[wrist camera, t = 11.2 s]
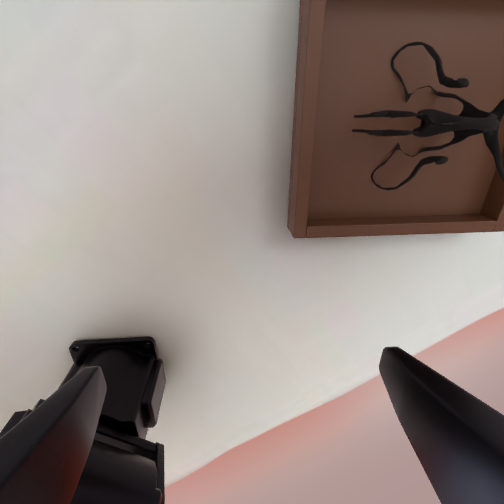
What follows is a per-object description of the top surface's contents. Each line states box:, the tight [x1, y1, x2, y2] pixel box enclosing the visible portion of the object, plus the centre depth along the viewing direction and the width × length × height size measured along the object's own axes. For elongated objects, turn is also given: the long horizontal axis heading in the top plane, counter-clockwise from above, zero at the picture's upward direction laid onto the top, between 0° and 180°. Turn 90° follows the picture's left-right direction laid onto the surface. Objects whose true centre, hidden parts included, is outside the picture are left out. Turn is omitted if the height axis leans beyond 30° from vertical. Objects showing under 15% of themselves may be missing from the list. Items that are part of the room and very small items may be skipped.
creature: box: [352, 42, 504, 190], centre depth 15 cm, size 8×5×8 cm
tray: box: [287, 0, 504, 238], centre depth 17 cm, size 15×14×2 cm
